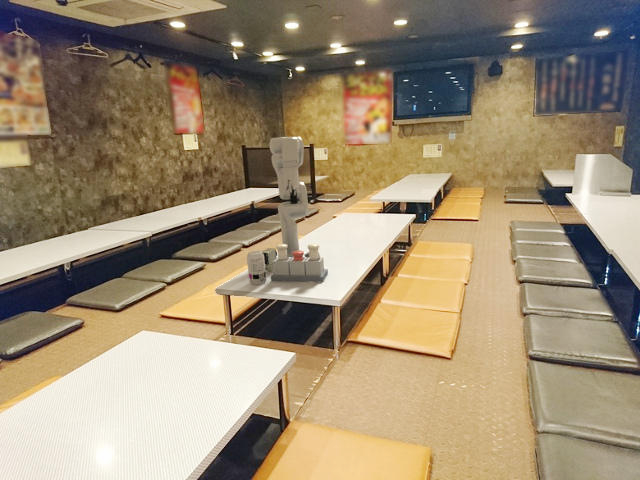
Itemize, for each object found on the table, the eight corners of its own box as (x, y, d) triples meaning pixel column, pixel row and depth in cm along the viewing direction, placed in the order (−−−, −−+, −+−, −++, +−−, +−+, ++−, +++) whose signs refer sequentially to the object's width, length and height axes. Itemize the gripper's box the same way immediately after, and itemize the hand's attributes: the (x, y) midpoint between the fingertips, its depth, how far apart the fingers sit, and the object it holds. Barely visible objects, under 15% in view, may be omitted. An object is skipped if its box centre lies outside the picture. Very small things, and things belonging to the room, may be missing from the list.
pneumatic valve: (278, 267, 228) (276, 245, 225) (267, 274, 218) (265, 251, 215) (269, 266, 231) (267, 245, 228) (258, 273, 220) (256, 251, 217)
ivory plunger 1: (279, 259, 213) (277, 244, 211) (290, 259, 211) (288, 244, 209) (275, 263, 207) (274, 247, 205) (286, 263, 206) (285, 247, 204)
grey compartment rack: (278, 273, 218) (276, 255, 216) (327, 273, 212) (326, 255, 210) (271, 281, 207) (269, 262, 204) (323, 282, 201) (321, 263, 199)
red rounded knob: (295, 266, 212) (293, 250, 210) (306, 266, 210) (304, 250, 208) (292, 270, 206) (290, 253, 204) (303, 270, 205) (302, 253, 203)
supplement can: (246, 284, 204) (243, 254, 201) (256, 279, 211) (253, 250, 208) (260, 286, 201) (256, 256, 197) (269, 280, 208) (267, 251, 204)
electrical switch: (314, 269, 221) (311, 252, 219) (305, 269, 223) (303, 252, 222) (322, 264, 229) (320, 247, 227) (314, 264, 231) (311, 248, 230)
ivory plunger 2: (310, 259, 209) (309, 243, 207) (321, 259, 208) (320, 243, 206) (307, 263, 204) (306, 246, 202) (318, 263, 202) (317, 246, 201)
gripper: (287, 163, 204) (290, 201, 208) (278, 166, 190) (282, 206, 194) (302, 163, 202) (305, 201, 207) (294, 165, 188) (297, 206, 193)
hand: (294, 203), depth 201 cm, fingers closed
